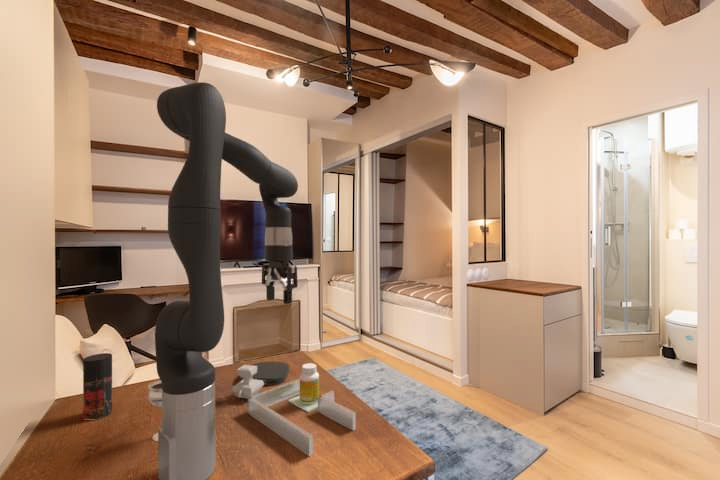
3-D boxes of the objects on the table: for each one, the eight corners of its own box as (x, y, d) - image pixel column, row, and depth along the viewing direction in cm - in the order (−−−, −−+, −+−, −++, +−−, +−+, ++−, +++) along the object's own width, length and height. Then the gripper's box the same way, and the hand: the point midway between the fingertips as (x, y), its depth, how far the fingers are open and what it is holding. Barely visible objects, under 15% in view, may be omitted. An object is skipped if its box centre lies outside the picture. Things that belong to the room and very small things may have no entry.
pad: (308, 412, 88) (308, 411, 88) (288, 401, 94) (288, 400, 94) (328, 403, 93) (328, 401, 93) (308, 393, 99) (308, 391, 99)
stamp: (249, 404, 92) (249, 374, 92) (228, 401, 94) (228, 371, 94) (266, 390, 101) (266, 362, 101) (247, 388, 103) (247, 360, 103)
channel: (309, 456, 70) (309, 437, 70) (247, 413, 88) (247, 397, 88) (366, 422, 83) (366, 406, 83) (303, 390, 101) (303, 377, 101)
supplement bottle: (315, 406, 90) (315, 370, 90) (296, 404, 91) (296, 368, 91) (321, 396, 96) (321, 362, 96) (303, 395, 97) (303, 361, 97)
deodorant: (78, 417, 86) (78, 358, 86) (104, 407, 91) (104, 352, 91) (90, 422, 83) (90, 362, 83) (116, 412, 88) (116, 355, 89)
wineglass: (151, 429, 80) (151, 379, 80) (183, 424, 82) (183, 375, 82) (144, 446, 74) (144, 391, 74) (179, 439, 76) (179, 386, 76)
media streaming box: (290, 368, 119) (290, 360, 119) (283, 386, 105) (283, 376, 105) (249, 369, 118) (248, 361, 118) (236, 387, 104) (236, 378, 104)
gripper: (253, 244, 96) (253, 300, 96) (281, 244, 86) (281, 307, 86) (276, 243, 101) (276, 297, 101) (305, 243, 92) (305, 303, 91)
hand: (278, 301), depth 94 cm, fingers open, 8 cm apart
